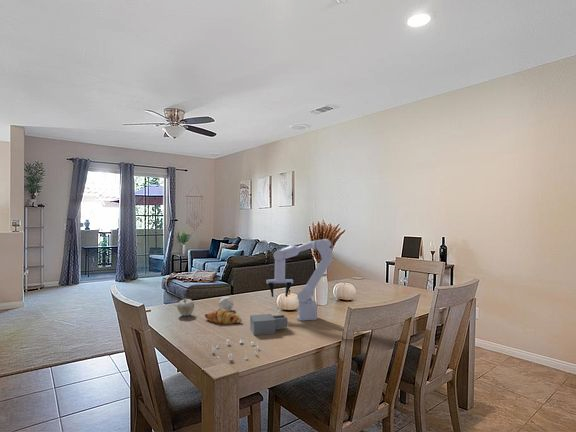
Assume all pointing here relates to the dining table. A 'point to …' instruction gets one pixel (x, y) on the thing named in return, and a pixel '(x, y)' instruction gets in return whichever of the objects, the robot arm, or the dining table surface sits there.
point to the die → (226, 303)
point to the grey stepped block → (267, 323)
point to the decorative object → (185, 307)
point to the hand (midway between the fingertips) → (279, 296)
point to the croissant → (223, 317)
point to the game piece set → (231, 354)
